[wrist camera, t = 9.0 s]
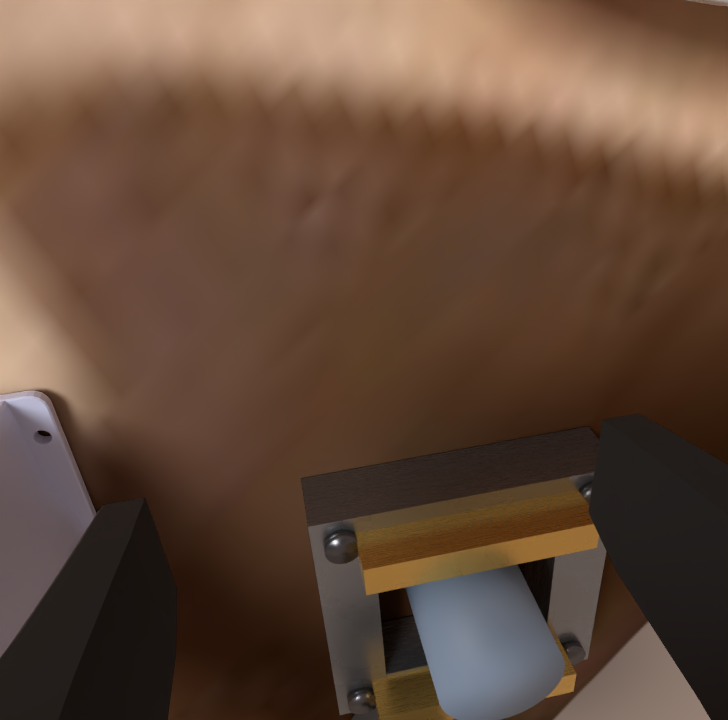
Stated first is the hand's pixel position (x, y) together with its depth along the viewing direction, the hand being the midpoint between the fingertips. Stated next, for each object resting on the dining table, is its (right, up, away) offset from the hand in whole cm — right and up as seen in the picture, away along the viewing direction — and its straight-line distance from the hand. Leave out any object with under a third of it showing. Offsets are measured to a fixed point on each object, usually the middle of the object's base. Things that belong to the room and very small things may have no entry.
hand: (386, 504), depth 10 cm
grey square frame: (+3, -6, +16) cm, 18 cm away
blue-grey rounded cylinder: (+3, -5, +16) cm, 17 cm away
